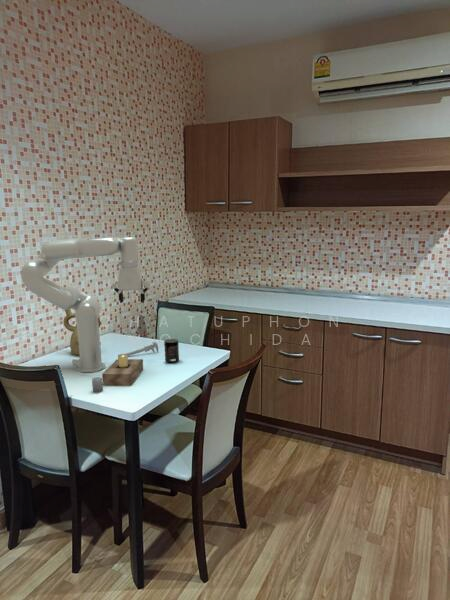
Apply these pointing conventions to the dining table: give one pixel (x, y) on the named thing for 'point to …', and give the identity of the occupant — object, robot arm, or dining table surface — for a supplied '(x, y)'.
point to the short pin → (97, 385)
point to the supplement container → (171, 351)
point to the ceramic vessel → (74, 331)
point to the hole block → (123, 373)
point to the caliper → (144, 349)
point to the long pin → (123, 360)
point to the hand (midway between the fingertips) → (132, 302)
